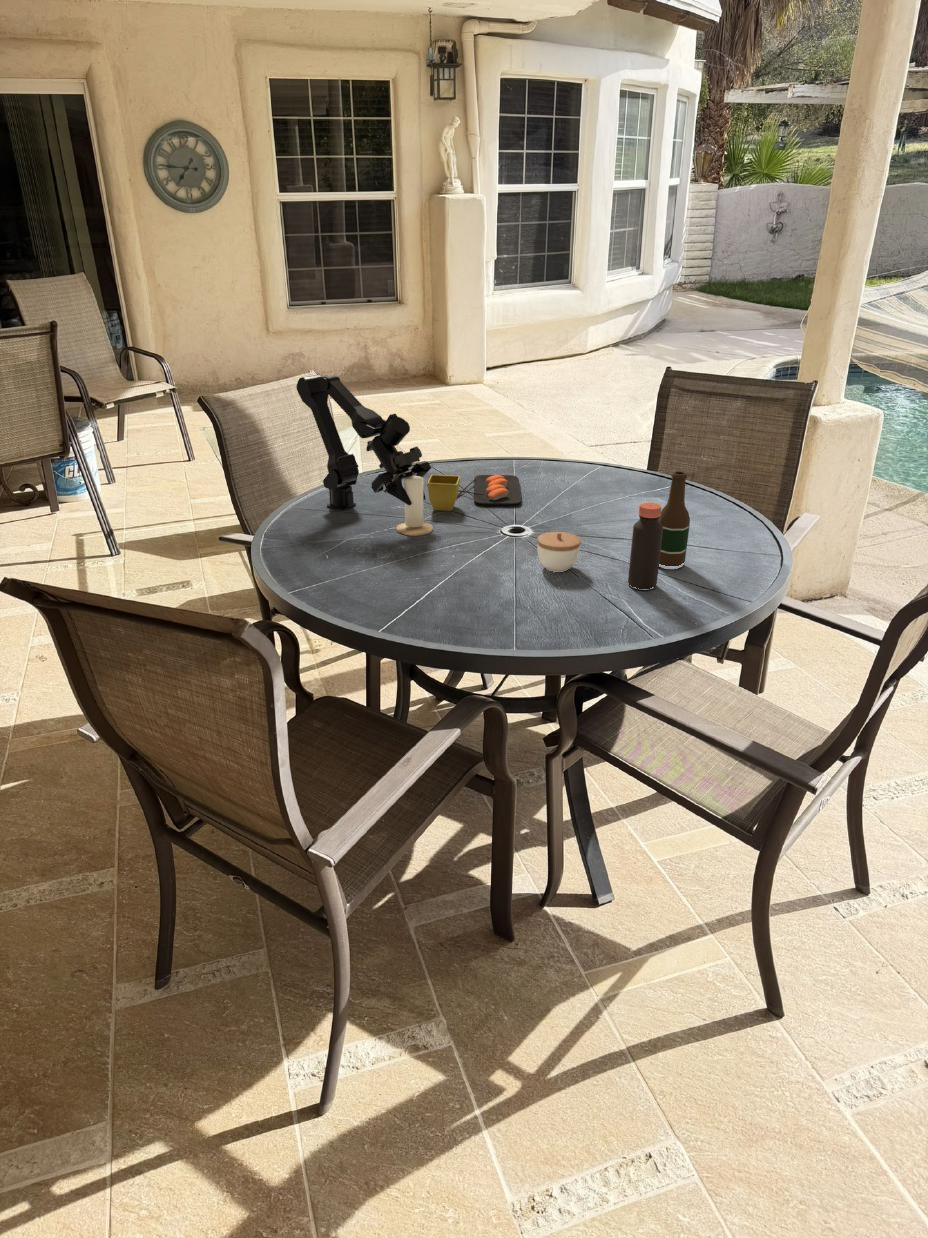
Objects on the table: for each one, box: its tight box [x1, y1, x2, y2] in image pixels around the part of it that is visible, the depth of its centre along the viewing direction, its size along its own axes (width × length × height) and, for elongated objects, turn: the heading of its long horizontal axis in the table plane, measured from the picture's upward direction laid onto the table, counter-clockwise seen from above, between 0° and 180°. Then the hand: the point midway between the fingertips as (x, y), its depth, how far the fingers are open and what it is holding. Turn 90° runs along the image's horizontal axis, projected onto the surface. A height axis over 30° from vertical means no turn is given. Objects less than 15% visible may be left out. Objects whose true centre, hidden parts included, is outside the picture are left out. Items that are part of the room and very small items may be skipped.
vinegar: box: [627, 502, 663, 589], centre depth 203 cm, size 7×7×20 cm
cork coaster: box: [396, 522, 434, 537], centre depth 241 cm, size 10×10×1 cm
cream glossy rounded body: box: [403, 476, 425, 527], centre depth 238 cm, size 5×5×13 cm
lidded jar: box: [536, 531, 582, 573], centre depth 215 cm, size 11×11×9 cm
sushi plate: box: [426, 474, 522, 505], centre depth 272 cm, size 29×30×4 cm
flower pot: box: [427, 474, 461, 512], centre depth 256 cm, size 9×9×9 cm
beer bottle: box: [658, 471, 691, 566], centre depth 214 cm, size 8×8×24 cm
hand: (417, 502), depth 237 cm, fingers closed on cream glossy rounded body, 5 cm apart
